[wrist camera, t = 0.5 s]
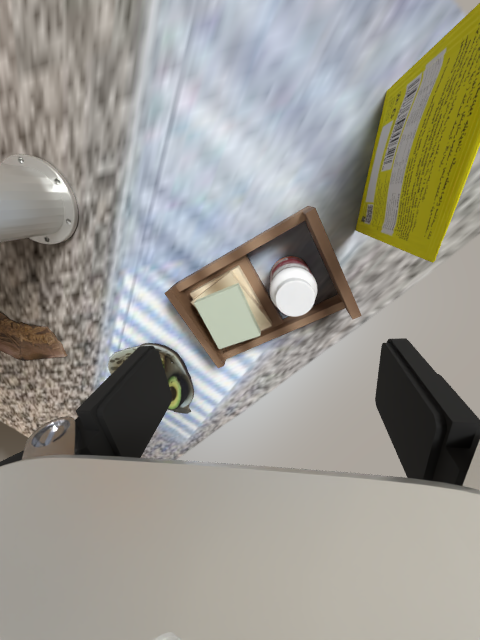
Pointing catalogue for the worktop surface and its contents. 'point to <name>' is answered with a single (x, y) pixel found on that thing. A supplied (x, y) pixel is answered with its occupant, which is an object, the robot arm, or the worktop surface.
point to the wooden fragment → (28, 341)
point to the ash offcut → (232, 279)
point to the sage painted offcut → (228, 316)
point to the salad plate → (174, 373)
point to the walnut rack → (263, 288)
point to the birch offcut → (245, 282)
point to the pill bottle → (292, 286)
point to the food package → (425, 145)
